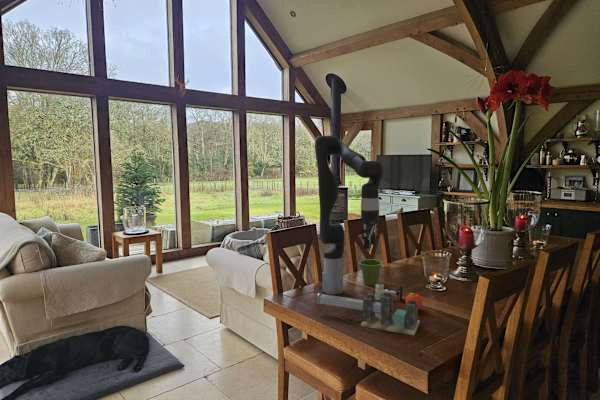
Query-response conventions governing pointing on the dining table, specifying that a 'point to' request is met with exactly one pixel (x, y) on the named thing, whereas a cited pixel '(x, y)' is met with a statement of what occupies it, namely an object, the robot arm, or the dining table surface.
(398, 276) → the dining table surface
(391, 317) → the frame
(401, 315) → the spacer
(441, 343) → the dining table surface
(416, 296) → the clementine
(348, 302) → the shaft
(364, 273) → the plant pot
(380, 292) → the valve
